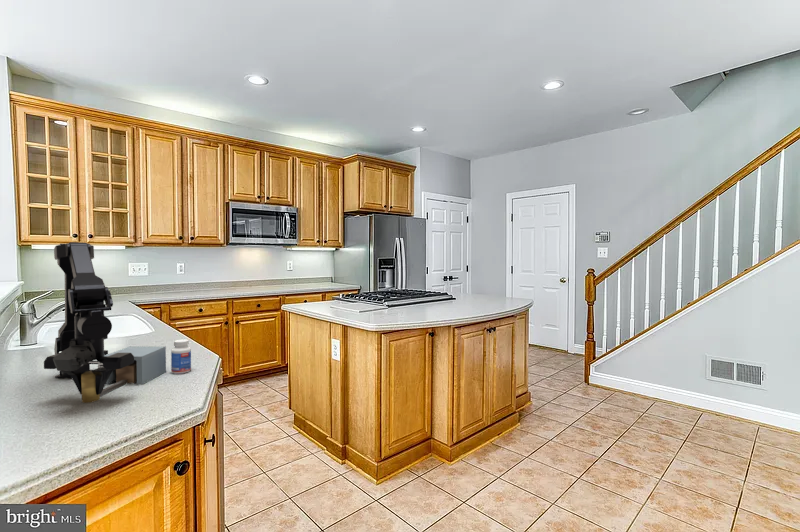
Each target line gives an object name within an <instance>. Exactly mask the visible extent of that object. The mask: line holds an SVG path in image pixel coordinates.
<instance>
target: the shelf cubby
mask: <svg viewBox="0 0 800 532" xmlns="http://www.w3.org/2000/svg"><path fill="white" fill-rule="evenodd" d="M166 349H167V347H166V345H165V346H160V345H159V346H156V345H155V346H148V345H146V346H143V345H142V346H141V345H139V346H137V345H136V346H134V345H133V346H132V345H131V346H130V345H129V346H126V347H125V348H122V349H119V350H116V351H113V352H110V353H108V354H107V355H104V357H108V356H110V355H113V354H116V353H132V354H133V356H134V361H137V382H136V386H137V385H144V384H146V383H147V382H150V381H152V380H153V379H156V378H157V377H159V376H161V375H163V374H165V373H166V372H167V352H166V351H167V350H166ZM114 382H116V369H114V370H113V371H112V373H111V375H110V376H109V378H108V380H107V382H106V384H105V385H110V384H112V383H114Z"/></svg>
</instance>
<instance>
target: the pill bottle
mask: <svg viewBox="0 0 800 532" xmlns="http://www.w3.org/2000/svg"><path fill="white" fill-rule="evenodd" d="M189 342H190V341H189V339H185V338H184V339H176V340H174V341H173V348H172V349H171V352H170V356H171V357H170V360H171V363H170V364H171V365H170V366H171V368H170V369H171V370H170V371H171V374H174V375H175V374H176V375H179V374H185V373H189V372H191V369H192V348H191V347H190V346H189Z"/></svg>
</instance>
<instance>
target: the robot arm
mask: <svg viewBox="0 0 800 532" xmlns="http://www.w3.org/2000/svg"><path fill="white" fill-rule="evenodd" d="M53 255H54V256H53V257H54V260H55V261H56V262H57V265H58V267H59V268H60V269H61V271H62V272H63V273H64V322H63V324H62V325H61V326H60V327H59V328H58V331H57V337H55V340H54V341H55V342H54V347H53V348H54V349H53V350H54V354H52V355H47V357H46V358H45V359H44V361H43V369H45V370H57V372H58V371H59V374H57V375H55V376H54V378H56V379H57V378H58V379H64V378H65V379H72V380H73V383H74V384H75V386H76V388H77V390H78V392H79V394H80V396H82V385H81V374H82V373H84V372H88V371H92V372H93V373H94V375H95V384H96V394H97V395H99V394H101V392H102V390H103V389H105V386H106V385H107V384H106V382H107V380H108V378H109V376H110V375H111V373H112V371H113V370H114V369H121V368H123V367H126V366H128V365H130V364H133V363H134V356H133V354H132V353H116V354H113V355H110V356H108V357H104V356H105V355H107V354H109V350H107V349H105V340H107V339H108V335H109V334H110V333H111V331H112V328H113V323H112V322H111V319H109V318H108V317H107V316H105V311H106V312H107V311H112V307H113V306H114V302H113V297H112V293H111V290H109V287H108V286H106V285H105V282H104V280H103V278H101V277H99V276H97V275H96V273H95V268H94V265H93V262H92V260H94V259H95V247H94V245H91V244H90V243H88V242H83V241H82V242H79V241H78V242H76V241H75V242H74V241H73V242H71V241H70V242H67V243H59V244H58V245H55V246H54V247H53ZM90 365H97V368H95V369H91V368H90V367H91V366H90Z"/></svg>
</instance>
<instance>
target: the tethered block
mask: <svg viewBox="0 0 800 532" xmlns="http://www.w3.org/2000/svg"><path fill="white" fill-rule="evenodd" d="M126 383H127V384H136V383H137V361H134V363H133V364H130V365H128V366H126V367H123V368H121V369H116V381H115V383H113V384H112V385H109V386H107V387H104V388H103V390H102V392H101V394H99V395H97V394H96V384H95V375H94V373H93V372H92V371H88V372H84V373H82V374H81V385H82V395H81V403H84V404H89V403H94V402H98V401H99V400H101V397H102V396H105V395H107V394H108V393H110V392H112V391H115V390H116V389H119V388H120V387H123V386H125V385H127V384H126Z"/></svg>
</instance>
